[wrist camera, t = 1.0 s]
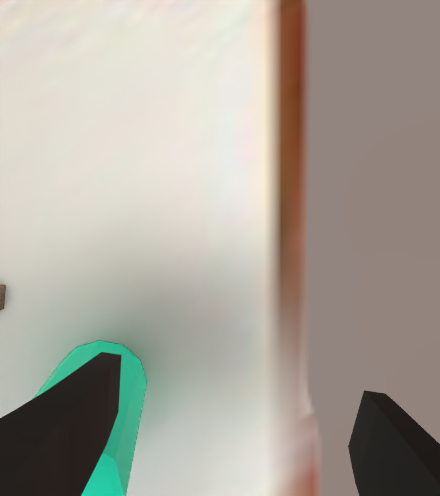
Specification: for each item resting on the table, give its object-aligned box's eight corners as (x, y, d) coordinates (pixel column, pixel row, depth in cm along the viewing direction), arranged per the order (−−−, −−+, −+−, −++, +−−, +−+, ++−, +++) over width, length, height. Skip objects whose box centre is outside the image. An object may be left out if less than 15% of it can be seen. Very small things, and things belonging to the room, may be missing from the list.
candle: (148, 423, 26) (121, 607, 14) (56, 429, 25) (-53, 626, 13) (145, 338, 25) (116, 454, 13) (52, 341, 25) (-68, 467, 13)
